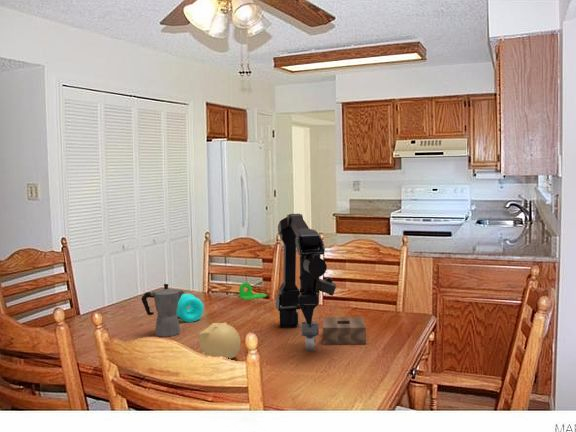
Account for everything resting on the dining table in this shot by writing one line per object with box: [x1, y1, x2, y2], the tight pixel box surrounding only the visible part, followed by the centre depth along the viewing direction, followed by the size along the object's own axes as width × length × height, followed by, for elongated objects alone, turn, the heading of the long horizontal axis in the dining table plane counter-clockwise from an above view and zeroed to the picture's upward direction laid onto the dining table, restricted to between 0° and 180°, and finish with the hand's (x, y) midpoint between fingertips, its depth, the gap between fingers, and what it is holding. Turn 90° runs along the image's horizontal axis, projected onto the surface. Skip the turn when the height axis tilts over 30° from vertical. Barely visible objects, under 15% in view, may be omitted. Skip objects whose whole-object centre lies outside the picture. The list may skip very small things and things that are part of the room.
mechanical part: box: [238, 282, 267, 300], centre depth 254 cm, size 12×6×8 cm, turn 116°
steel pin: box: [300, 321, 320, 352], centre depth 175 cm, size 5×5×8 cm
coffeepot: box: [141, 283, 185, 338], centre depth 198 cm, size 15×9×18 cm, turn 116°
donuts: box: [176, 293, 205, 323], centre depth 217 cm, size 10×10×10 cm
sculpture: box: [198, 322, 241, 360], centre depth 169 cm, size 12×12×11 cm
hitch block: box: [322, 316, 367, 345], centre depth 187 cm, size 14×14×6 cm
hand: (309, 320), depth 175 cm, fingers open, 9 cm apart
